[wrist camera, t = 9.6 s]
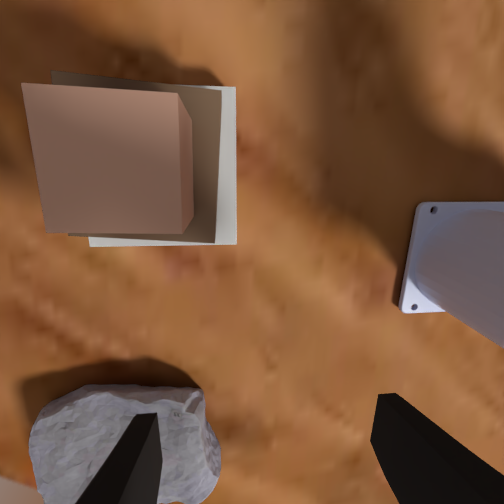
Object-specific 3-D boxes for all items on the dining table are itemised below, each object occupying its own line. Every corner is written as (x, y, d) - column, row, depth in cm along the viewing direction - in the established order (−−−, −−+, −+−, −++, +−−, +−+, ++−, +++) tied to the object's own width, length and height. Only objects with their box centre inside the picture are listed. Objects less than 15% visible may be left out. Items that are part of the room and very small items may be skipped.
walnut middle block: (221, 104, 14) (221, 90, 11) (215, 232, 15) (214, 243, 13) (82, 88, 13) (50, 69, 10) (93, 225, 15) (68, 235, 12)
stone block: (51, 376, 21) (80, 490, 23) (3, 419, 17) (42, 560, 18) (203, 346, 23) (224, 456, 24) (198, 378, 18) (224, 513, 19)
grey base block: (233, 99, 16) (235, 86, 14) (234, 234, 18) (236, 244, 16) (87, 93, 15) (62, 80, 13) (108, 236, 17) (90, 246, 15)
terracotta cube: (191, 120, 11) (177, 93, 8) (193, 216, 13) (182, 234, 9) (90, 114, 11) (20, 82, 7) (101, 214, 12) (45, 232, 8)
